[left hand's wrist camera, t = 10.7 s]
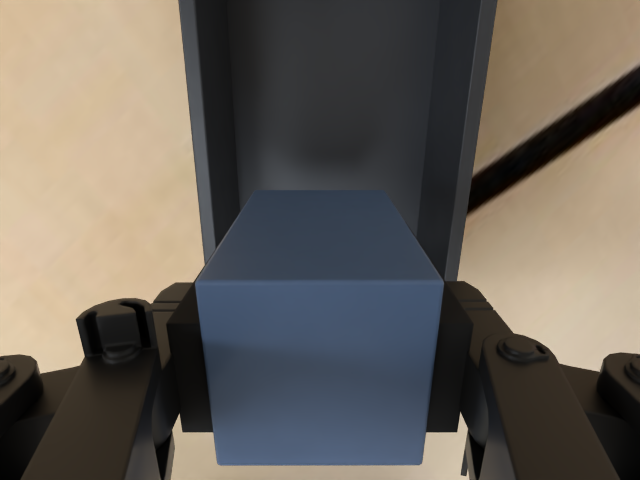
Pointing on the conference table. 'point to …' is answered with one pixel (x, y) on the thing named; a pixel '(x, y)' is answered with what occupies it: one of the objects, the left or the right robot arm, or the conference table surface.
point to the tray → (338, 106)
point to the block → (319, 332)
